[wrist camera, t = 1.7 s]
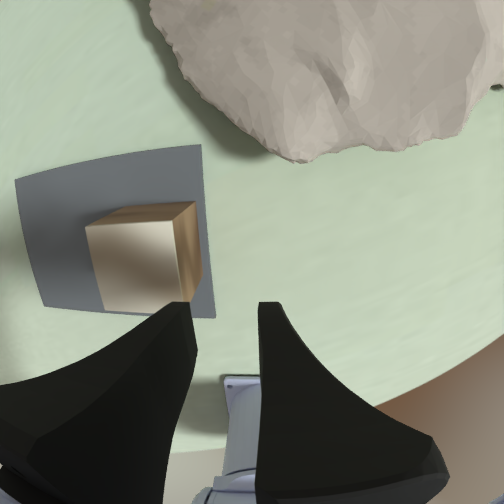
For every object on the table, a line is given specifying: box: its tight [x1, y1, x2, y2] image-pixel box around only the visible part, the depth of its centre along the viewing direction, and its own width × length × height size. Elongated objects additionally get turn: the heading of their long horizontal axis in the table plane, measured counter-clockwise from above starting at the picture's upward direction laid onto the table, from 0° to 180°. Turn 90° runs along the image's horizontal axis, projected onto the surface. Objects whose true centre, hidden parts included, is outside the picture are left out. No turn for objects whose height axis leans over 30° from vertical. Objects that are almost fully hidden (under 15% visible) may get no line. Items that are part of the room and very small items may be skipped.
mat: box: [15, 144, 216, 318], centre depth 19 cm, size 12×17×1 cm
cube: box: [85, 201, 203, 313], centre depth 16 cm, size 5×5×5 cm
